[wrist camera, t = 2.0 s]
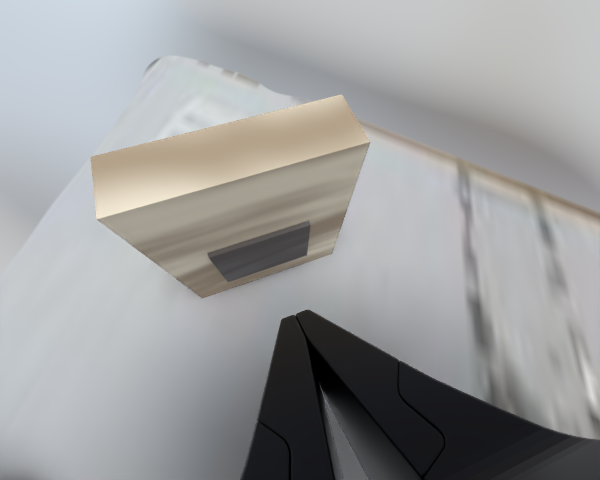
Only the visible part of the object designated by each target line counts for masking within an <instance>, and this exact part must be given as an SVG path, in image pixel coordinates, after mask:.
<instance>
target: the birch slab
mask: <svg viewBox="0 0 600 480" xmlns="http://www.w3.org/2000/svg"><path fill="white" fill-rule="evenodd" d="M369 144H370V140H369V139H368V137H367V135H366V134H365V132H364V130H363V129H362V127H361V125H360V124H359V122H358V120H357V119H356V117H355V115H354V114H353V112H352V111H351V109H350V107H349V106H348V104H347V102H346V101H345V99H344V97H343V96H342V95H338V96H334V97H330V98H326V99H322V100H318V101H313V102H309V103H305V104H301V105H297V106H293V107H289V108H285V109H281V110H277V111H273V112H269V113H265V114H261V115H257V116H253V117H249V118H245V119H241V120H237V121H233V122H229V123H225V124H221V125H217V126H213V127H209V128H205V129H201V130H197V131H193V132H189V133H185V134H181V135H177V136H173V137H169V138H165V139H161V140H157V141H153V142H149V143H145V144H141V145H137V146H133V147H129V148H125V149H121V150H117V151H113V152H109V153H105V154H101V155H97V156H93V157H91V165H92V176H93V187H94V197H95V208H96V219H97V220H98V221H99V222H101V223H102V224H104V225H105V226H106V227H108V228H109V229H110V230H112V231H113V232H114V233H116V234H117V235H118V236H120V237H121V238H122V239H124V240H125V241H126V242H128V243H129V244H130V245H132V246H133V247H134V248H136V249H137V250H138V251H140V252H141V253H142V254H144V255H145V256H146V257H148V258H149V259H150V260H152V261H153V262H154V263H156V264H157V265H159V266H160V267H161V268H163V269H164V270H165V271H167V272H168V273H169V274H171V275H172V276H173V277H175V278H176V279H177V280H179V281H180V282H181V283H183V284H184V285H185V286H187V287H188V288H189V289H191V290H192V291H193V292H195V293H196V294H197V295H199V296H200V297H201V298H204V297H207V296H210V295H213V294H216V293H219V292H222V291H225V290H228V289H230V288H233V287H236V286H239V285H242V284H245V283H248V282H251V281H254V280H257V279H259V278H262V277H265V276H268V275H271V274H274V273H277V272H280V271H283V270H286V269H288V268H291V267H294V266H297V265H300V264H303V263H306V262H309V261H312V260H315V259H318V258H320V257H323V256H326V255H329V254H332V252H333V250H334V247H335V244H336V241H337V238H338V235H339V232H340V229H341V226H342V223H343V220H344V217H345V214H346V212H347V209H348V206H349V203H350V200H351V197H352V194H353V191H354V188H355V185H356V182H357V179H358V177H359V174H360V171H361V168H362V165H363V162H364V159H365V156H366V153H367V150H368V147H369Z"/></svg>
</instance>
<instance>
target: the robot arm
mask: <svg viewBox="0 0 600 480" xmlns="http://www.w3.org/2000/svg"><path fill="white" fill-rule="evenodd" d="M321 389H322V391H323V393H324V395H325V397H326V399H327V401H328V403H329V405H330V407H331V409H332V411H333V413H334V415H335V416H336V418H337V420H338V422H339V424H340V426H341V428H342V430H343V432H344V434H345V435H346V437H347V439H348V441H349V443H350V445H351V447H352V449H353V451H354V452H355V454H356V456H357V458H358V460H359V462H360V464H361V466H362V468H363V470H364V471H365V473H366V475H367V477H368V479H369V480H600V440H596V439H587V438H582V437H577V436H572V435H568V434H564V433H561V432H557V431H554V430H551V429H548V428H545V427H543V426H540V425H538V424H535V423H533V422H530V421H528V420H526V419H523V418H521V417H519V416H517V415H514V414H512V413H510V412H507V411H505V410H503V409H501V408H498V407H496V406H494V405H491V404H489V403H487V402H485V401H482V400H480V399H478V398H475V397H473V396H471V395H469V394H466V393H464V392H462V391H459V390H457V389H455V388H453V387H451V386H449V385H447V384H444V383H442V382H440V381H438V380H436V379H434V378H432V377H430V376H428V375H426V374H424V373H422V372H420V371H419V370H417V369H415V368H413V367H411V366H409V365H408V364H406V363H404V362H402V361H400V362H399V360H398V359H397V358H395V357H393V356H391V355H389V354H388V353H386V352H384V351H382V350H380V349H379V348H377V347H375V346H373V345H371V344H370V343H368V342H366V341H364V340H362V339H361V338H359V337H357V336H355V335H354V334H352V333H350V332H348V331H346V330H345V329H343V328H341V327H339V326H337V325H336V324H334V323H332V322H330V321H328V320H327V319H325V318H323V317H321V316H319V315H318V314H316V313H314V312H312V311H311V310H305V311H302V312H300V313H297V314H296V316H295V315H292V316H289V317H286V318H284V319H282V320H281V323H280V327H279V331H278V335H277V339H276V344H275V348H274V352H273V356H272V360H271V364H270V368H269V372H268V376H267V381H266V385H265V389H264V393H263V397H262V401H261V405H260V409H259V413H258V418H257V423H256V425H255V429H254V433H253V438H252V441H251V445H250V449H249V452H248V456H247V460H246V463H245V467H244V470H243V473H242V476H241V479H240V480H344V478H343V474H342V470H341V466H340V462H339V458H338V454H337V450H336V446H335V442H334V438H333V434H332V430H331V426H330V422H329V418H328V414H327V410H326V406H325V402H324V398H323V394H322V391H321Z"/></svg>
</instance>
